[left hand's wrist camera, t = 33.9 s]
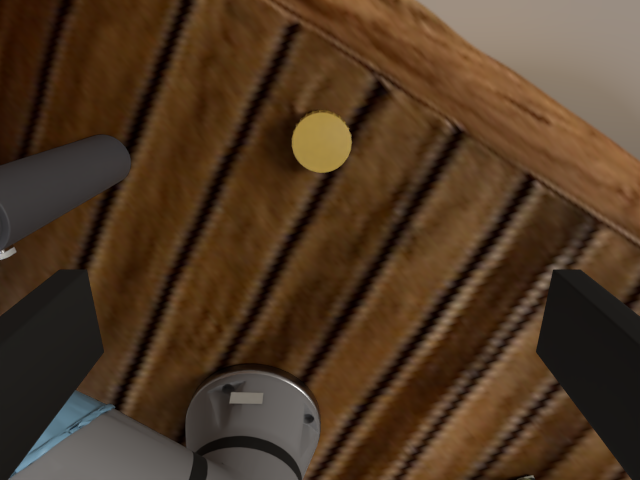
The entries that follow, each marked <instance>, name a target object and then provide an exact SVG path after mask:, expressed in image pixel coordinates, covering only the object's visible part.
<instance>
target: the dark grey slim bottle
mask: <svg viewBox="0 0 640 480" xmlns="http://www.w3.org/2000/svg"><path fill="white" fill-rule="evenodd" d="M130 167H131V160H130V155H129V153H128V151H127V149H126V148H125V146H124V145H123V144H122V143H121V142H120V141H119V140H117V139H116V138H114V137H111V136H108V135H95V136H92V137H89V138H86V139H82V140H79V141H76V142H73V143H70V144H67V145H64V146H60V147H57V148H54V149H51V150H48V151H45V152H41V153H38V154H35V155H32V156H29V157H26V158H22V159H19V160H16V161H13V162H10V163H7V164H4V165H0V251H2V250H4V249H5V248H7V247H9V246H10V245H12V244H14V243H16V242H17V241H19V240H21V239H22V238H24V237H26V236H28V235H29V234H31V233H33V232H34V231H36V230H38V229H39V228H41V227H43V226H45V225H46V224H48V223H50V222H51V221H53V220H55V219H57V218H58V217H60V216H62V215H63V214H65V213H67V212H69V211H70V210H72V209H74V208H75V207H77V206H79V205H80V204H82V203H84V202H86V201H87V200H89V199H91V198H92V197H94V196H96V195H98V194H99V193H101V192H103V191H104V190H106V189H108V188H110V187H111V186H113V185H115V184H116V183H118V182H120V181H121V180H123V179H124V178H125V177H126V176H127V175H128V173H129V171H130Z"/></svg>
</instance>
